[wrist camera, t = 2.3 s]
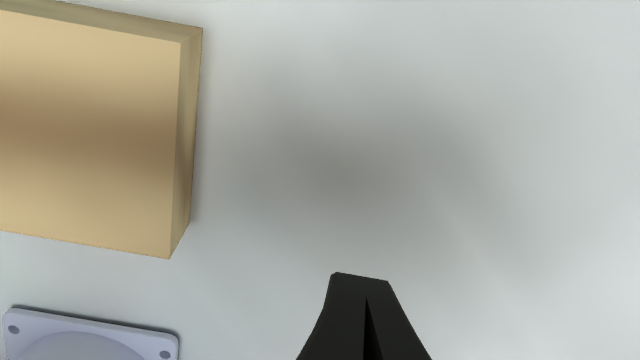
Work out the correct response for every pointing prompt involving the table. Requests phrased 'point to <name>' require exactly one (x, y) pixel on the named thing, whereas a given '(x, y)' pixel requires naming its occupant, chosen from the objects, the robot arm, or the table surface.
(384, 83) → the table surface
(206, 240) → the table surface
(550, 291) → the table surface
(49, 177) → the oak slab
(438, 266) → the table surface
